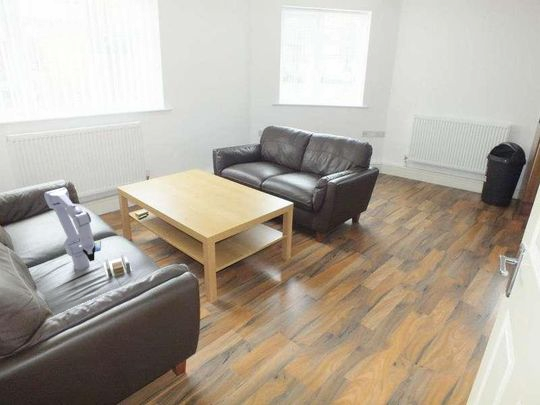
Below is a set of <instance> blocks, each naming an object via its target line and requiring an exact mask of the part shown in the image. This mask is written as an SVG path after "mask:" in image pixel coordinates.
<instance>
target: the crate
mask: <svg viewBox="0 0 540 405" xmlns="http://www.w3.org/2000/svg"><path fill="white" fill-rule="evenodd" d="M112 266H113V270H114V273H115V276H117V275H116V274H119V273H122V274H124V273H123V272H124V268H123V265H122V262H121V261H119V262H115V263H112ZM119 275H120V274H119Z"/></svg>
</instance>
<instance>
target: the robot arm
mask: <svg viewBox="0 0 540 405" xmlns="http://www.w3.org/2000/svg"><path fill="white" fill-rule="evenodd" d="M69 193H70V192H69V191H68V189H67V188H66V187H64V186H63V187H61V188H60V187H59V188H57V189H52V190H48V191H44V195H43V197H44V199H45V202H46V204H47V206H48V207H49V209H52V210H54V212H55V214H56V215H57V218H58V220H59V223H60V225H61V227H62V229H63V231H64V233H65V235H66V237H67V238H66V239H65V241H64V242H63V243H64V244H63V246H64V248H65V251H66V254H67V256H69V257H71V259H72V263H73V264H72V265H73V267H74V269H75V270H78V271H80V270H85V269H86V268H88V267H90V262H93V261H95V253H96V252H95V250H96V248H95V242H94V241H95V240H94V236H93V232H92V228H91V224H90V223H92V218H91V216H90V213H89V212H87V211H86V210H82V209H81V208H80V207H79V205H78V204H77V203H73V202H72V201H71V199H70V194H69ZM71 219H72V220H71ZM76 230H77V231H76Z"/></svg>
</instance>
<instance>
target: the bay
mask: <svg viewBox="0 0 540 405" xmlns="http://www.w3.org/2000/svg"><path fill="white" fill-rule="evenodd" d="M119 261H121V262H122V265H123V268H124V272H123V273H119V274H116V275H115V273H114V270H113V266H112V263H115V262H119ZM102 264H103V267H104V268H103V269H104V271H105V274H106V277H107V279H108V278H111V277H114V276H119V275H122V274H125V273H128V272H132V271H133V270H132V268H131V264H130V262H129V260H128V258H127V256H124V255H120V258H116V259H113V260H108V258H107V259H105V261H104V262H103V263H102Z"/></svg>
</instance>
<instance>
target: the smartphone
mask: <svg viewBox="0 0 540 405" xmlns="http://www.w3.org/2000/svg"><path fill="white" fill-rule="evenodd" d="M94 242H95V248H96V250H95V253H98V252H100V251H102V250H101V249H102V244H101V243H102V241H101V239H97V240H94Z"/></svg>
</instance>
